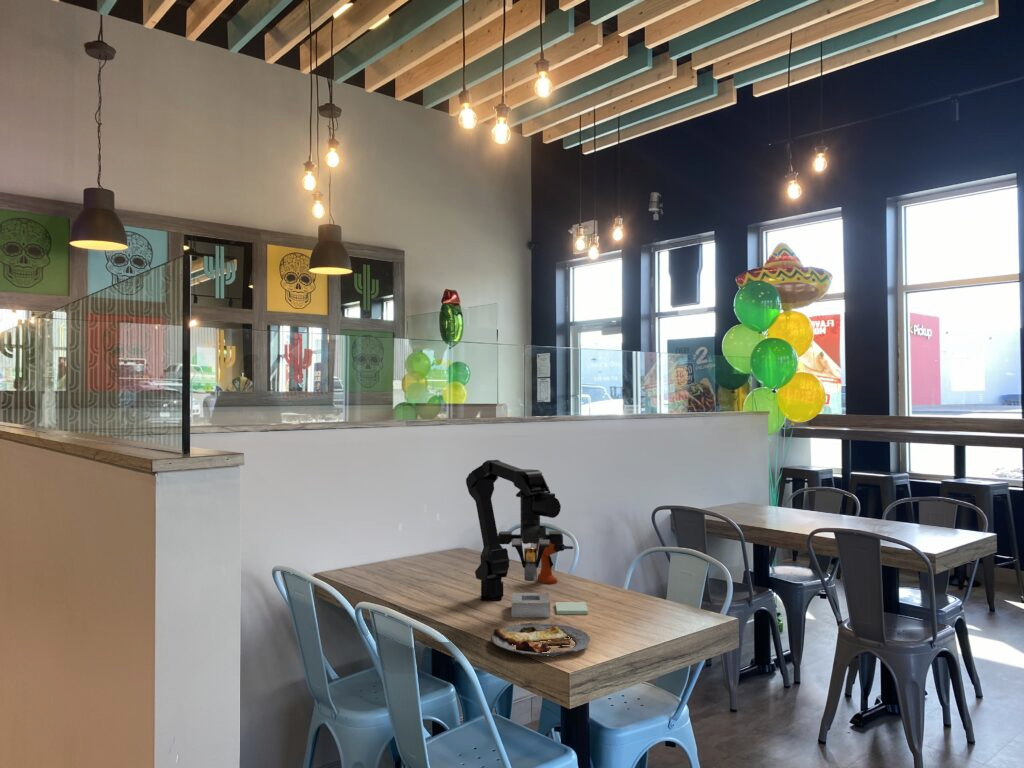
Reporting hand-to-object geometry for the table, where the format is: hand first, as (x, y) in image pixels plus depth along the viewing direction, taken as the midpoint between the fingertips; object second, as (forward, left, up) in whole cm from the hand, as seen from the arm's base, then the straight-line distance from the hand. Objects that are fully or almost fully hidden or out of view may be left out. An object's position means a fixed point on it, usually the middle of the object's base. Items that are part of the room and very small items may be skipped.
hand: (530, 567), depth 225 cm
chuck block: (0, 0, -13) cm, 13 cm away
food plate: (+2, -29, -13) cm, 32 cm away
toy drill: (+9, +32, -13) cm, 36 cm away
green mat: (+12, +2, -13) cm, 18 cm away
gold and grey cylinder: (0, 0, -4) cm, 4 cm away
